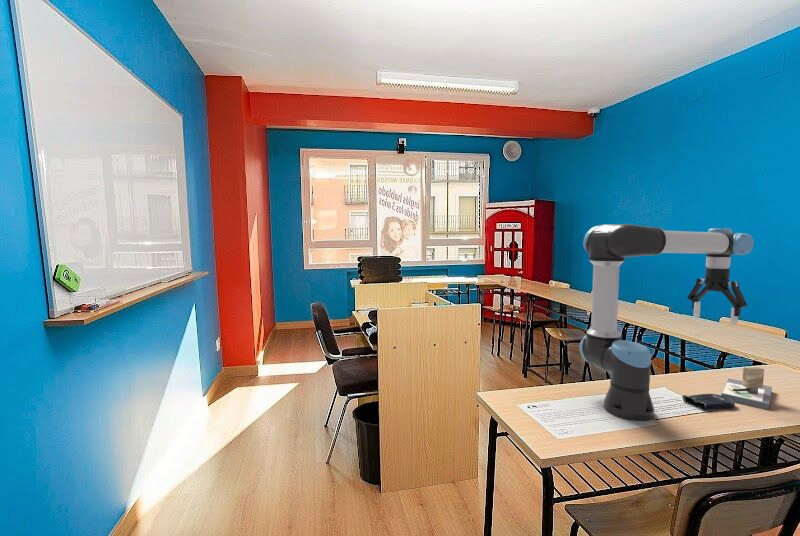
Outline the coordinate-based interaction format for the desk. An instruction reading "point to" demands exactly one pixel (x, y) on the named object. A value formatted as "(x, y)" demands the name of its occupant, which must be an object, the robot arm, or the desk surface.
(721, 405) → the dark grey hollow piece
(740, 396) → the board
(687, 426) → the desk surface
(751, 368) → the wooden block with bar
